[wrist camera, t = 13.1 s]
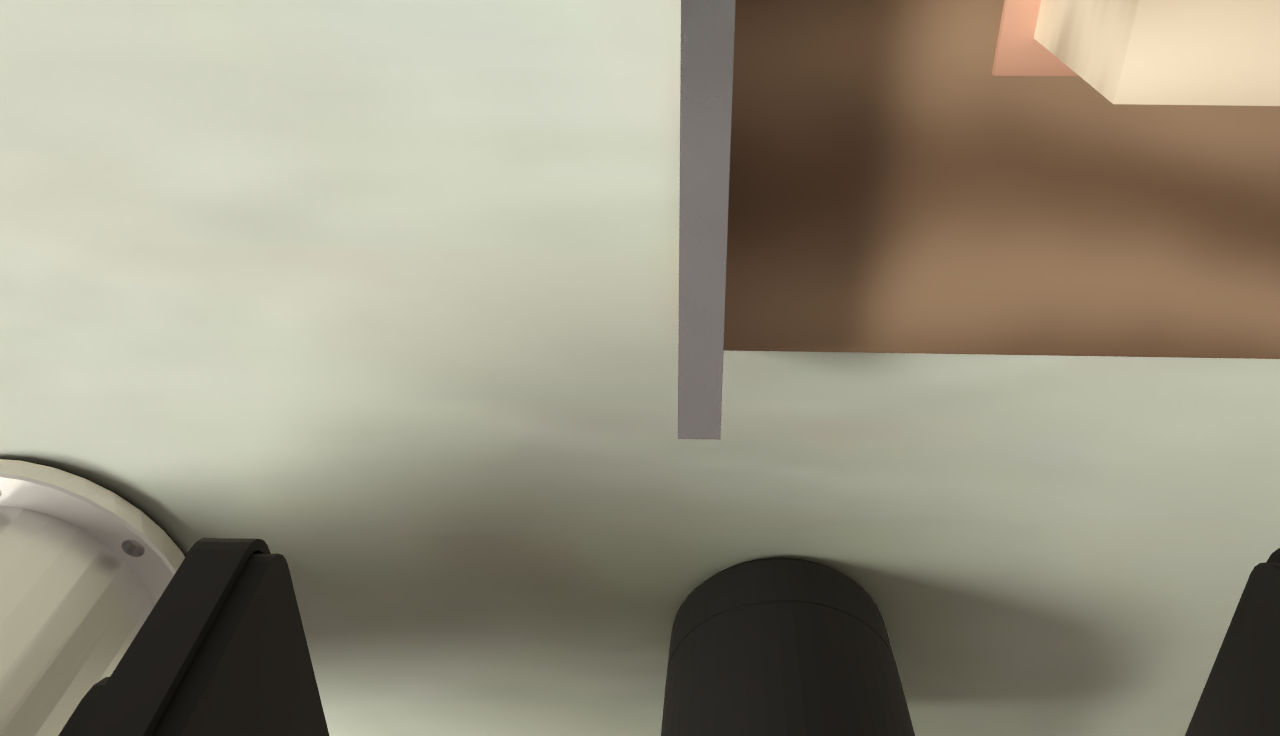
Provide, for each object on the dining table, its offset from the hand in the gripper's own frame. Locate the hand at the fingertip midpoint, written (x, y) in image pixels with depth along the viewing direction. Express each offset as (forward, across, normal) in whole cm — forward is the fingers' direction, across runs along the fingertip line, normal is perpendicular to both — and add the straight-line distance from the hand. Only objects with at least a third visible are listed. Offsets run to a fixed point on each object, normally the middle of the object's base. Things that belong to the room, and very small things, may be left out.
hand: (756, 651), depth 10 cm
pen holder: (+23, -4, +22) cm, 32 cm away
